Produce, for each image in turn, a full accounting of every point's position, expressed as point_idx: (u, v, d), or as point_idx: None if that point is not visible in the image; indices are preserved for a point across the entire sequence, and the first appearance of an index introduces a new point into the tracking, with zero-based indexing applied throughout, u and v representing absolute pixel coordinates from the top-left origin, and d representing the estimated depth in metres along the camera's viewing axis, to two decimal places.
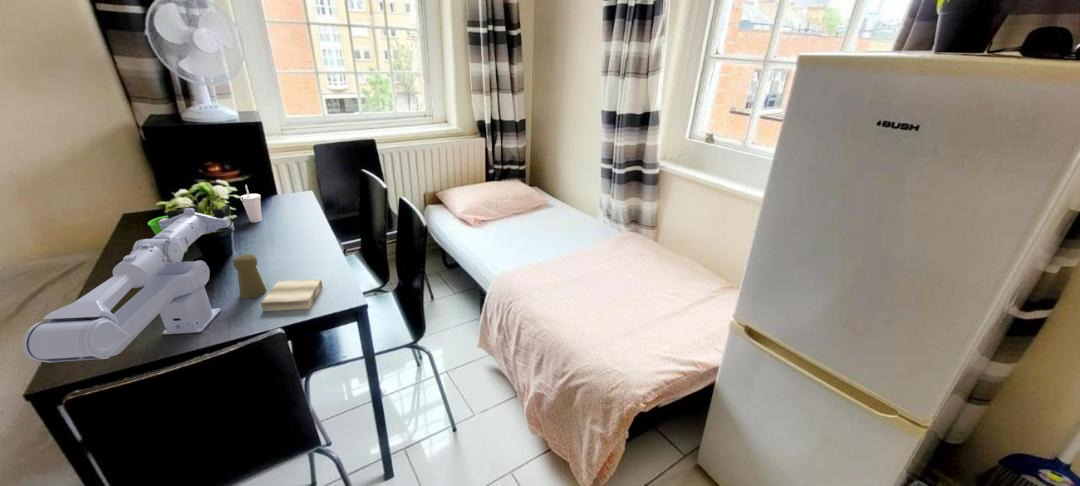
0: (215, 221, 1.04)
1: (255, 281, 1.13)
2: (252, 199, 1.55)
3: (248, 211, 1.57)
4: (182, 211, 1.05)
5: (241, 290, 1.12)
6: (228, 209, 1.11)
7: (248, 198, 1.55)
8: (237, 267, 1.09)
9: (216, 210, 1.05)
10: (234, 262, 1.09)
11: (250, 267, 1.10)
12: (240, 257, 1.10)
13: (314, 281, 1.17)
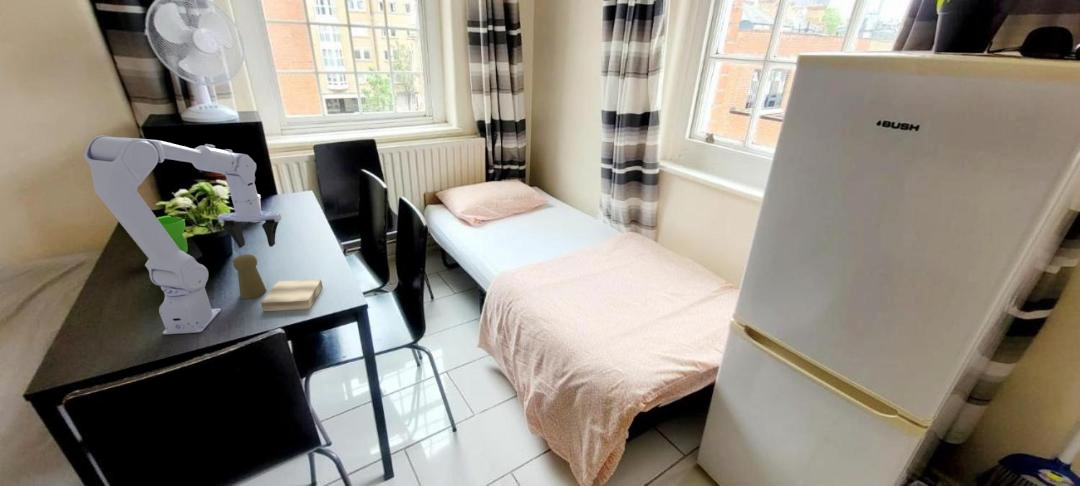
0: None
1: (255, 281, 1.13)
2: None
3: None
4: (240, 225, 1.17)
5: (241, 290, 1.12)
6: (273, 241, 1.19)
7: None
8: (237, 267, 1.09)
9: None
10: (234, 262, 1.09)
11: (250, 267, 1.10)
12: (240, 257, 1.10)
13: (314, 281, 1.17)
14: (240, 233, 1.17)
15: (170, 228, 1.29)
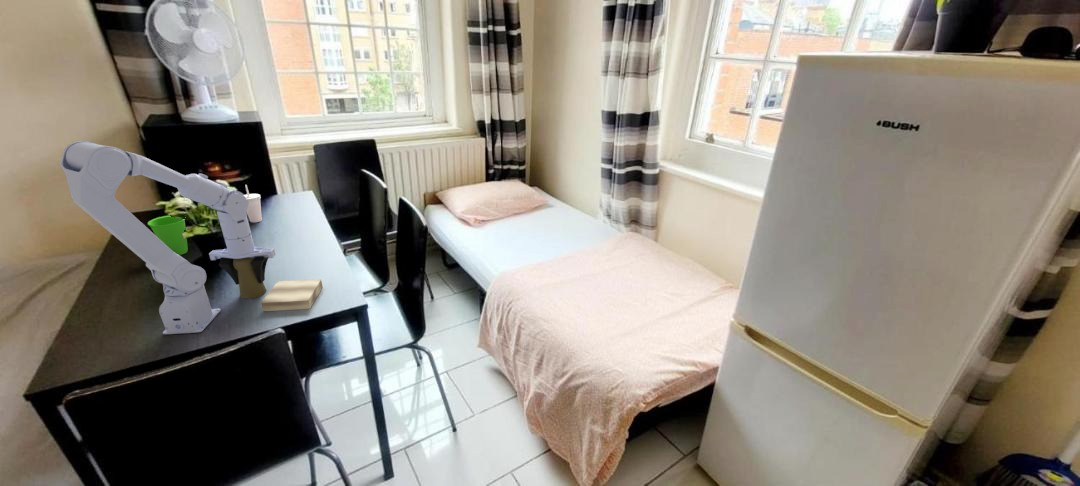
0: None
1: (255, 281, 1.13)
2: (252, 199, 1.55)
3: (248, 211, 1.57)
4: None
5: (241, 290, 1.12)
6: (263, 277, 1.14)
7: (248, 198, 1.55)
8: (237, 267, 1.09)
9: None
10: (234, 262, 1.09)
11: (250, 267, 1.10)
12: None
13: (314, 281, 1.17)
14: None
15: (170, 228, 1.29)
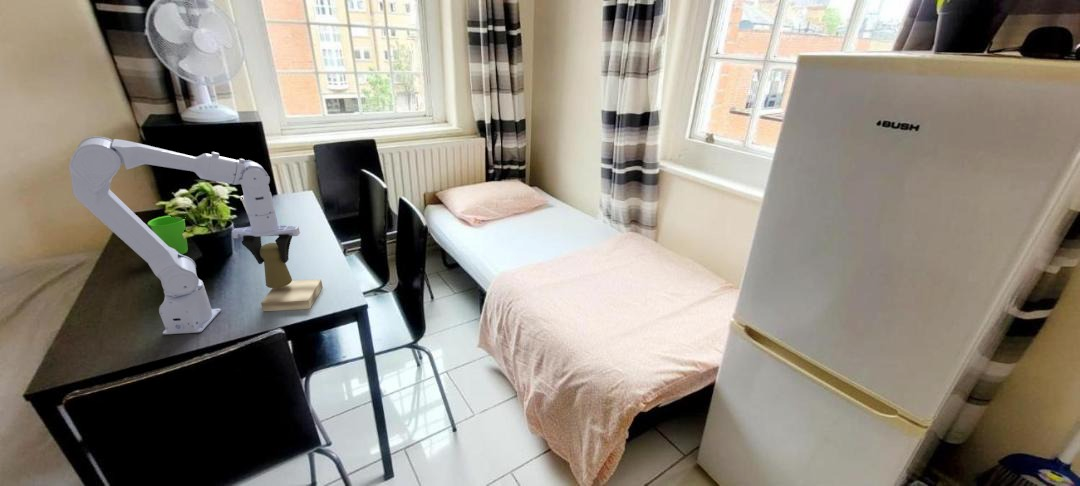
0: (287, 228, 1.08)
1: (281, 270, 1.10)
2: None
3: None
4: (260, 240, 1.09)
5: (267, 279, 1.10)
6: (287, 257, 1.10)
7: None
8: (263, 256, 1.07)
9: None
10: (260, 251, 1.07)
11: (276, 256, 1.08)
12: (267, 246, 1.08)
13: (314, 281, 1.17)
14: None
15: (170, 228, 1.29)
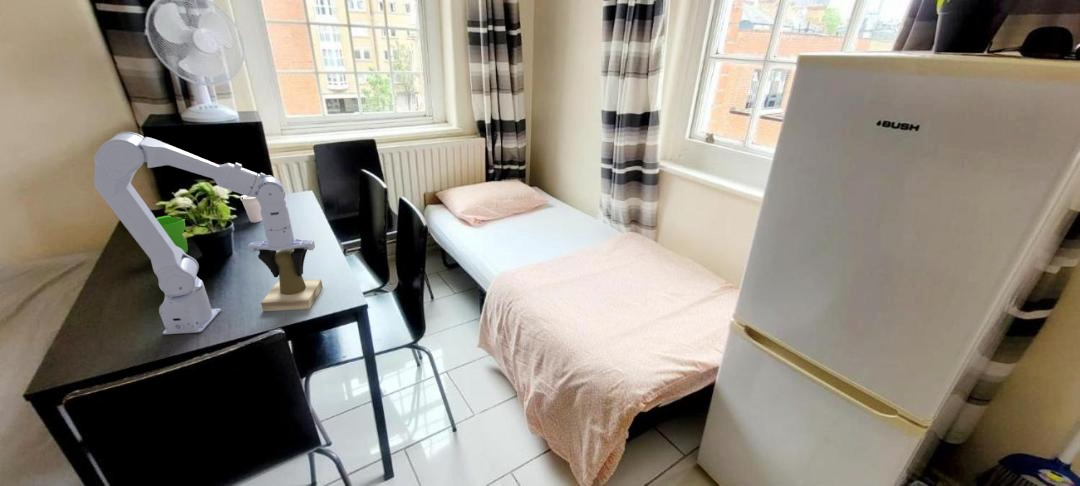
0: (303, 242, 1.08)
1: (295, 277, 1.10)
2: (252, 199, 1.55)
3: (248, 211, 1.57)
4: (275, 253, 1.10)
5: (281, 285, 1.10)
6: (301, 270, 1.11)
7: (248, 198, 1.55)
8: (278, 262, 1.07)
9: None
10: (275, 257, 1.07)
11: (291, 262, 1.08)
12: (281, 252, 1.08)
13: (314, 281, 1.17)
14: (275, 262, 1.09)
15: (170, 228, 1.29)
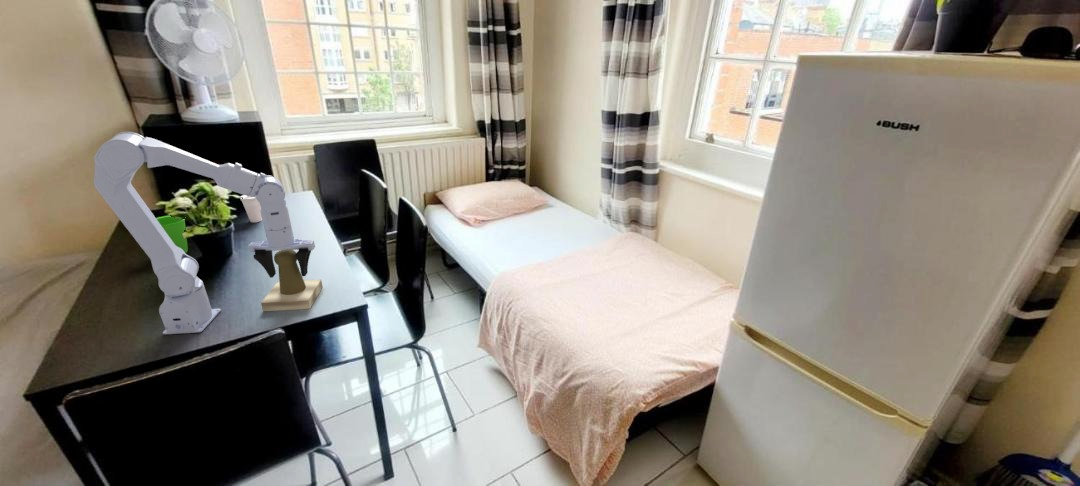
0: (303, 242, 1.08)
1: (295, 277, 1.10)
2: (252, 199, 1.55)
3: (248, 211, 1.57)
4: (271, 253, 1.10)
5: (281, 285, 1.10)
6: (306, 270, 1.11)
7: (248, 198, 1.55)
8: (278, 262, 1.07)
9: None
10: (275, 257, 1.07)
11: (290, 262, 1.08)
12: (281, 252, 1.08)
13: (314, 281, 1.17)
14: (271, 262, 1.09)
15: (170, 228, 1.29)
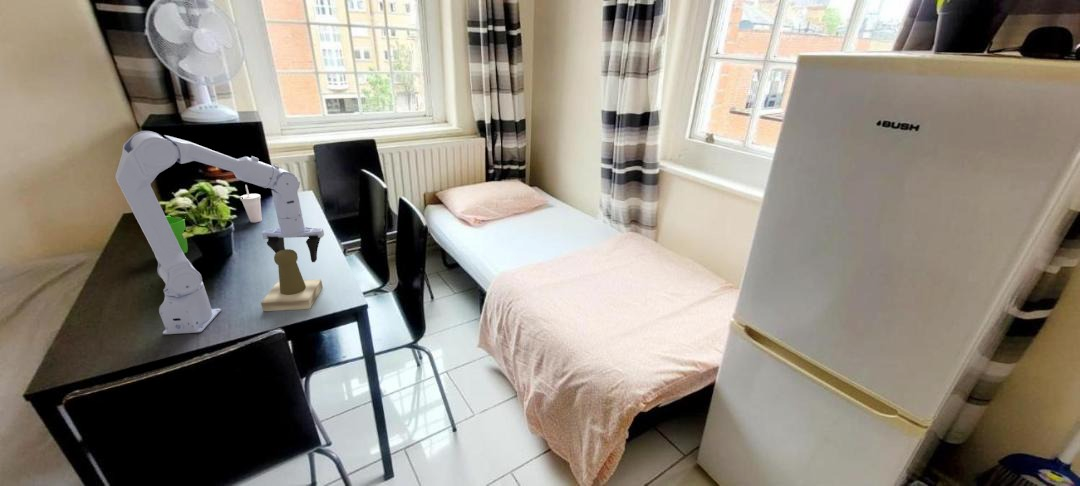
0: (313, 230, 1.15)
1: (295, 277, 1.10)
2: (252, 199, 1.55)
3: (248, 211, 1.57)
4: (283, 241, 1.17)
5: (281, 285, 1.10)
6: (315, 256, 1.18)
7: (248, 198, 1.55)
8: (278, 262, 1.07)
9: None
10: (275, 257, 1.07)
11: (290, 262, 1.08)
12: (281, 252, 1.08)
13: (314, 281, 1.17)
14: (283, 249, 1.16)
15: None
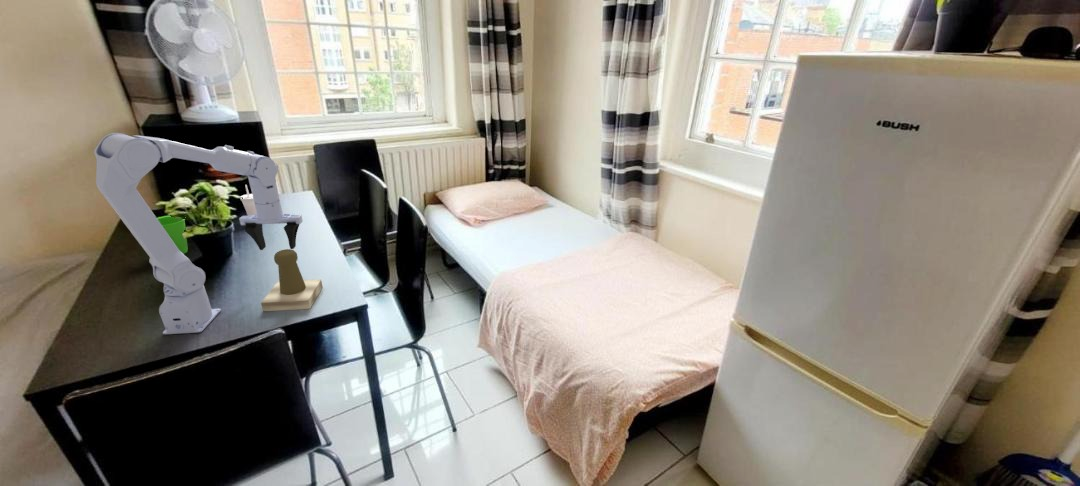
0: None
1: (295, 277, 1.10)
2: (252, 199, 1.55)
3: (248, 211, 1.57)
4: (261, 227, 1.16)
5: (281, 285, 1.10)
6: (294, 243, 1.18)
7: (248, 198, 1.55)
8: (278, 262, 1.07)
9: None
10: (275, 257, 1.07)
11: (290, 262, 1.08)
12: (281, 252, 1.08)
13: (314, 281, 1.17)
14: (261, 235, 1.16)
15: (170, 228, 1.29)
